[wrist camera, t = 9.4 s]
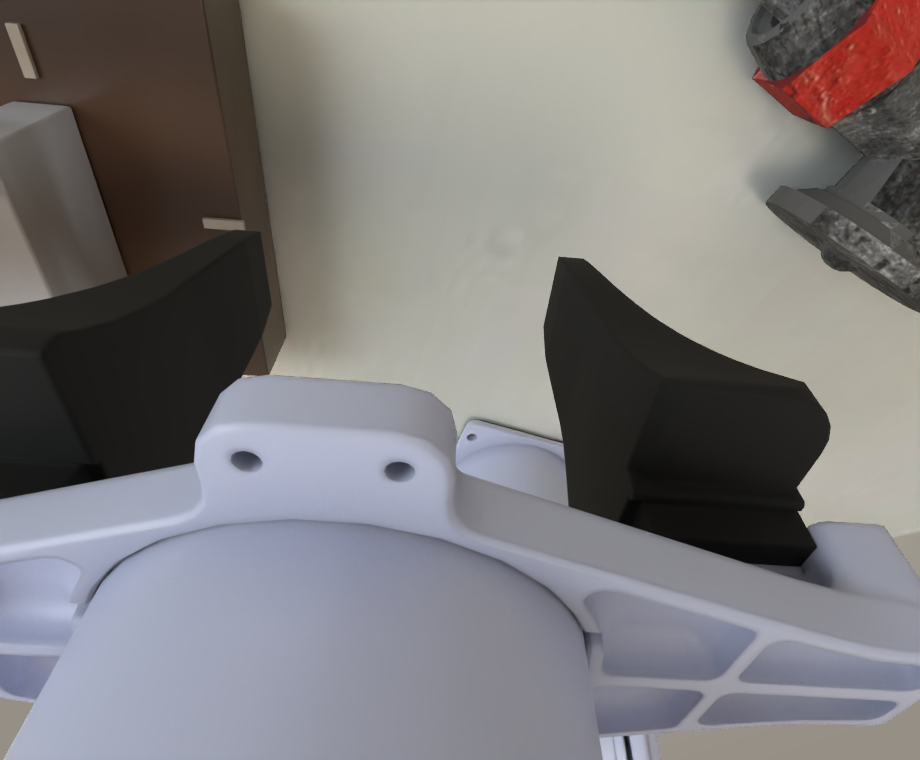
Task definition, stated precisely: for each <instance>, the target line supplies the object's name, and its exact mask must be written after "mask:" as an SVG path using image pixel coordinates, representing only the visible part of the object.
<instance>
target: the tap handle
mask: <svg viewBox="0 0 920 760" xmlns="http://www.w3.org/2000/svg"><path fill="white" fill-rule="evenodd" d="M126 276H127V273H126V270H125V267H124V264H123V261H122V258H121V255H120V252H119V249H118V246H117V243H116V240H115V237H114V234H113V231H112V228H111V225H110V222H109V219H108V216H107V213H106V210H105V207H104V204H103V201H102V198H101V195H100V192H99V189H98V186H97V183H96V180H95V177H94V174H93V171H92V168H91V166H90V163H89V160H88V157H87V154H86V151H85V148H84V145H83V142H82V139H81V136H80V133H79V130H78V127H77V124H76V121H75V118H74V115H73V112H72V109H71V108H70V107H68V106H59V105H48V104H37V103H26V102H15V101H13V102H10V103H8V104H5V105H3V106H0V307H2V306H8V305H15V304H21V303H27V302H32V301H38V300H43V299H48V298H52V297H56V296H60V295H64V294H68V293H73V292H77V291H81V290H85V289H89V288H92V287H96V286H99V285H102V284H105V283H109V282H112V281H115V280H118V279H121V278H124V277H126Z"/></svg>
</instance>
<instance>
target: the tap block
mask: <svg viewBox="0 0 920 760" xmlns="http://www.w3.org/2000/svg"><path fill="white" fill-rule="evenodd" d="M13 101H15V102H26V103H37V104H48V105H59V106H68V107H70V108H71V109H72V112H73V115H74V118H75V121H76V124H77V127H78V130H79V133H80V136H81V139H82V142H83V145H84V148H85V151H86V154H87V157H88V160H89V163H90V166H91V168H92V171H93V174H94V177H95V180H96V183H97V186H98V189H99V192H100V195H101V198H102V201H103V204H104V207H105V210H106V213H107V216H108V219H109V222H110V225H111V228H112V231H113V234H114V237H115V240H116V243H117V246H118V249H119V252H120V255H121V258H122V261H123V264H124V267H125V270H126V273H127V276H129V275H132V274H135V273H137V272H140V271H142V270H144V269H147V268H149V267H151V266H154V265H156V264H158V263H161V262H163V261H165V260H168V259H170V258H172V257H174V256H177V255H179V254H181V253H183V252H185V251H187V250H189V249H191V248H193V247H195V246H197V245H200V244H202V243H204V242H206V241H208V240H210V239H212V238H214V237H216V236H219V235H221V234H223V233H226V232H229V231H232V230H246V231H258V232H261V237H262V244H263V250H264V256H265V263H266V269H267V276H268V282H269V289H270V295H271V302H272V307H271V310H270V314H269V317H268V320H267V324H266V327H265V330H264V333H263V336H262V338H261V340H260V342H259V344H258V346H257V348H256V350H255V352H254V354H253V356H252V358H251V360H250V362H249V364H248V366H247V368H246V370H245V371H244V373H243V375H255V376H261V375H269V374H270V372H271V370H272V367H273V365H274V363H275V361H276V358H277V356H278V354H279V352H280V349H281V347H282V345H283V342H284V340H285V338H286V333H285V326H284V319H283V312H282V305H281V298H280V291H279V284H278V277H277V270H276V263H275V256H274V249H273V242H272V235H271V227H270V220H269V213H268V206H267V199H266V192H265V185H264V178H263V171H262V164H261V157H260V150H259V143H258V136H257V129H256V122H255V115H254V108H253V101H252V94H251V86H250V79H249V72H248V65H247V58H246V51H245V44H244V37H243V30H242V23H241V16H240V9H239V2H238V0H0V106H3V105H5V104H8V103H10V102H13Z"/></svg>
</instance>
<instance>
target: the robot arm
mask: <svg viewBox="0 0 920 760" xmlns="http://www.w3.org/2000/svg"><path fill="white" fill-rule="evenodd" d="M271 307H272V302H271V295H270V289H269V282H268V276H267V269H266V263H265V256H264V250H263V244H262V237H261V232H258V231H246V230H232V231H229V232H226V233H223V234H221V235H219V236H216V237H214V238H212V239H210V240H208V241H206V242H204V243H202V244H200V245H197V246H195V247H193V248H191V249H189V250H187V251H185V252H183V253H181V254H179V255H177V256H174V257H172V258H170V259H168V260H165V261H163V262H161V263H158V264H156V265H154V266H151V267H149V268H147V269H144V270H142V271H140V272H137V273H135V274H132V275H129V276H126V277H124V278H121V279H118V280H115V281H112V282H109V283H105V284H102V285H99V286H96V287H92V288H89V289H85V290H81V291H77V292H73V293H68V294H64V295H60V296H56V297H52V298H48V299H43V300H38V301H32V302H27V303H21V304H15V305H8V306H2V307H0V698H6V699H12V700H18V701H24V702H30V703H34V705H33V707H32V709H31V711H30V712H29V714H28V716H27V718H26V720H25V721H24V723H23V725H22V727H21V729H20V730H19V732H18V734H17V736H16V738H15V739H14V741H13V743H12V745H11V747H10V748H9V750H8V752H7V754H6V756H5V757H4V759H3V760H661V757H660V750H659V744H658V738H657V733H668V732H680V731H681V732H682V731H694V730H707V729H720V728H732V727H750V726H766V725H791V724H793V725H795V724H796V725H797V724H844V725H875V726H879V725H882V724H884V723H885V722H887V721H889V720H890V719H892V718H893V717H895V716H896V715H898V714H899V713H901V712H902V711H904V710H905V709H907V708H908V707H910V706H911V705H913V704H915V703H916V702H917V701H919V700H920V579H919V577H918V576H917V574H916V573H915V571H914V570H913V568H912V567H911V565H910V564H909V562H908V561H907V559H906V558H905V557H904V555H903V553H902V552H901V550H900V549H899V548H898V546H897V545H896V543H895V542H894V540H893V539H892V537H891V536H890V534H889V533H888V531H887V530H886V528H885V527H884V526H881V525H876V524H860V523H845V522H830V521H828V522H819V523H816V524H813V525H810V526H809V527H807V528H806V526H805V524H804V522H803V520H802V519H801V517H800V515H799V513H798V511H801V510H802V509H803V508H804V500H803V498H802V496H801V495H800V493H799V491H798V489H797V486H798V485H799V484H800V482H801V481H802V480H803V478H804V477H805V475H806V474H807V473H808V471H809V470H810V469H811V467H812V466H813V464H814V463H815V462H816V460H817V459H818V458H819V456H820V455H821V453H822V452H823V450H824V448H825V446H826V444H827V442H828V440H829V435H830V428H831V426H830V423H829V419H828V416H827V413H826V412H825V411H824V409H823V408H822V406H821V405H820V404H819V402H818V401H817V399H816V398H815V397H814V395H813V394H812V392H811V391H810V390H809V388H808V387H807V385H806V384H805V383H804V382H801V381H798V380H794V379H791V378H788V377H784V376H781V375H777V374H774V373H771V372H767V371H764V370H761V369H758V368H755V367H752V366H750V365H747V364H744V363H742V362H739V361H736V360H734V359H731V358H729V357H726V356H724V355H722V354H719V353H717V352H715V351H713V350H711V349H708V348H706V347H704V346H702V345H700V344H698V343H696V342H694V341H692V340H690V339H688V338H687V337H685V336H683V335H681V334H679V333H678V332H676V331H675V330H673V329H671V328H670V327H668V326H666V325H665V324H663V323H662V322H660V321H659V320H657V319H656V318H654V317H653V316H651V315H650V314H649V313H647V312H646V311H645V310H643V309H642V308H641V307H639V306H638V305H637V304H635V303H634V302H633V301H632V300H631V299H629V298H628V297H627V296H626V295H625V294H623V293H622V292H621V291H620V290H619V289H618V288H616V287H615V286H614V285H613V284H612V283H611V282H610V281H609V280H608V279H606V278H605V277H604V276H603V275H602V274H601V273H600V272H599V271H598V270H597V269H595V268H594V267H593V266H592V265H591V264H590V263H588V262H587V261H586V260H584V259H579V258H567V257H558V262H557V267H556V271H555V276H554V281H553V285H552V290H551V295H550V299H549V304H548V308H547V313H546V318H545V322H544V343H545V356H546V362H547V367H548V372H549V376H550V381H551V385H552V390H553V394H554V399H555V403H556V408H557V412H558V416H559V421H560V426H561V432H562V437H563V443H560V442H556V441H553V440H549V439H545V438H542V437H538V436H534V435H531V434H527V433H523V432H520V431H516V430H512V429H509V428H505V427H501V426H498V425H494V424H490V423H487V422H483V421H479V420H471V421H469V422H468V423H467V424H466V426H465V428H464V430H463V432H462V434H461V436H460V438H459V440H458V442H457V444H456V435H457V431H456V427H455V423H454V419H453V415H452V412H451V410H450V409H449V408H448V407H447V406H446V405H445V404H443V403H442V402H441V401H440V400H439V399H438V398H437V397H435V396H434V395H433V394H432V393H430V392H427V391H423V390H420V389H416V388H412V387H409V386H405V385H402V384H389V383H375V382H362V381H348V380H334V379H321V378H307V377H294V376H280V375H261V376H254V377H247V378H241V377H242V375H243V373H244V371H245V370H246V368H247V366H248V364H249V362H250V360H251V358H252V356H253V354H254V352H255V350H256V348H257V346H258V344H259V342H260V340H261V338H262V336H263V333H264V330H265V327H266V324H267V320H268V317H269V314H270V310H271ZM470 434H474V436H470Z"/></svg>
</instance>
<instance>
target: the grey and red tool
mask: <svg viewBox="0 0 920 760" xmlns="http://www.w3.org/2000/svg"><path fill="white" fill-rule="evenodd" d="M758 1H759V2H760V5H759V6H758V8H757V10H756V12H755V13H754V15H753V17H752V19H751V22H750V25H749V28H748V31H747V34H746V40H747V45H748V47H749V49H750V51H751V53H752V54H753V56H754V58H755V60H756V62H757V64H758V66H759V67H758V69H757V70H756V72H755V74H754V76H753V78H752V79H754V80H755V81H756V82H757V83H758V84H759V85H760V86H761V87H763V88H764V89H765V90H766V91H767V92H768V93H769V94H770V95H772V96H773V97H774V98H775V99H776V100H777V101H778V102H779V103H781V104H782V105H783V106H784V107H785V108H786V109H787V110H788V111H790V112H791V113H792V114H793V115H796V116H798V117H800V118H803V119H805V120H808V121H810V122H813V123H815V124H817V125H820V126H822V127H825V128H828V127H830V126H832V127H833V128H835V129H836V130H837V131H838V132H839V133H840V134H841V135H843V136H844V137H845V138H846V139H847V140H848V141H849V142H851V143H852V144H853V145H854V146H855V147H856V148H857V149H859V150H860V151H861V152H862V153H863V154H864V156H863V157H862V158H861V159H860V160H859V162H858V163H857V164H856V165H855V166H854V167H853V168H852V169H851V170H850V171H849V172H848V173H847V174H846V175H845V176H844V177H843V178H842V179H841V180H840V181H839V182H838V183H837V184H836V185H835V186H828V187H827V188H826V189H825V190H821V189H818V188H814V189H801V190H795V189H792V188H789V187H786V186H780V187H779V188H778V189H777V191H776V192H775V193H774V194H773V195H772V196H771V197H770V198H769V199H768V200H767V202H766V205H767V206H768V208H769V209H770V210H771V211H772V212H773V213H774V214H775V215H776V216H778V217H779V218H780V219H781V220H782V221H783V222H784V223H786V224H787V225H788V226H789V227H791V228H792V229H793V230H794V231H795V232H797V233H798V234H799V235H801V236H802V237H803V238H804V239H806V240H807V241H808V242H810V243H811V244H812V245H814V246H815V247H816V248H818V249H819V250H820V251H821V257H822V259H823V260H824V262H825V263H826V264H827V265H828V266H830V267H831V268H833V269H835V270H838V271H850V272H852V273H853V274H855V275H856V276H858V277H859V278H861V279H862V280H864V281H865V282H867V283H868V284H870V285H871V286H873V287H874V288H876V289H878V290H879V291H881V292H882V293H884V294H886V295H887V296H889V297H891V298H892V299H894V300H896V301H897V302H899V303H901V304H903V305H905V306H907V307H908V308H910V309H912V310H915V311H917V312H919V313H920V0H758Z"/></svg>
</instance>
